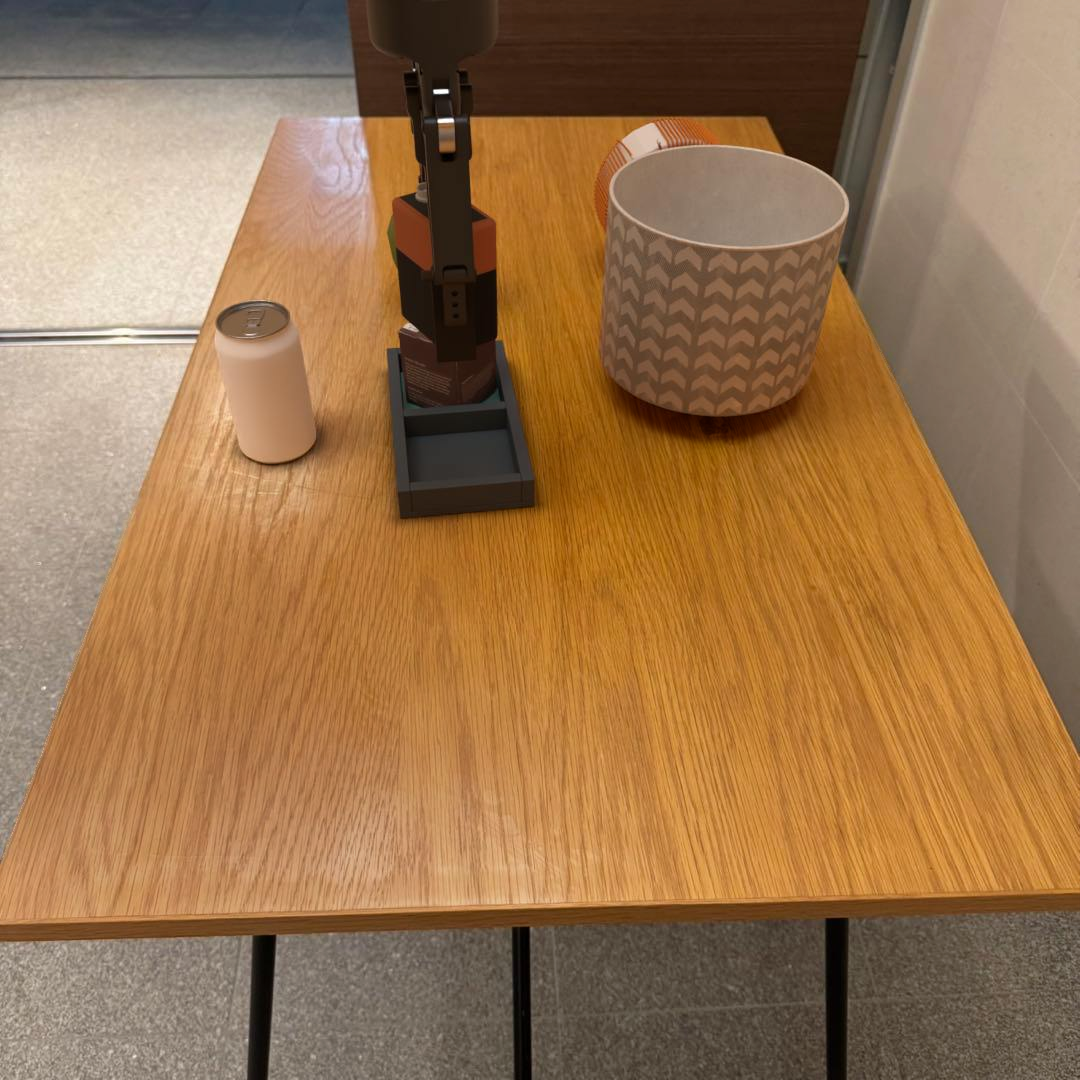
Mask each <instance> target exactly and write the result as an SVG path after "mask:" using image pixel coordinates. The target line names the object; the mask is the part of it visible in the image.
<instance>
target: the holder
mask: <svg viewBox="0 0 1080 1080" xmlns="http://www.w3.org/2000/svg"><path fill="white" fill-rule="evenodd" d="M386 360H387V361H386V363H387V374H388V389H389V400H390V414H391V429H392V440H393V441H392V442H393V455H394V468H395V469H394V470H395V481H396V494H397V503H398V511H399V518H400V519H410V518H421V517H433V516H443V515H453V514H454V515H455V514H463V513H475V512H477V513H478V512H488V511H497V510H509V509H518V508H530V507H535V491H536V489H535V487H536V486H535V483H536V482H535V481H536V480H535V475H534V471H533V466H532V463H531V458H530V457H531V456H530V453H529V449H528V445H527V441H526V435H525V431H524V427H523V424H522V419H521V415H520V410H519V406H518V401H517V397H516V393H515V389H514V385H513V384H514V383H513V381H512V376H511V371H510V368H509V362H508V359H507V354H506V350H505V346H504V340H503V339H497V340H496V370H497V389H496V390H495V391H494V392H493V393H491V395H489V396H488V397H487V398H486V399H484V400H483V401H482V402H481V403H479V404H466V405H453V406H441V407H428V408H425V407H422V406H420V405H417V404H414V403H412V402H409V401H407V400H406V393H405V385H404V377H403V368H402V359H401V351H400V347H387V348H386Z"/></svg>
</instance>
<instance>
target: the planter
mask: <svg viewBox="0 0 1080 1080" xmlns="http://www.w3.org/2000/svg"><path fill="white" fill-rule="evenodd" d="M849 212H850V200H849V197H848V194H847V193H846V191H845V189H844V188H843V187H842V186H841V184H840V183H838V181H836V179H835V178H833V177H832V176H830V175H829V174H828V173H826V172H825V171H824V170H821V169H820V168H818V167H816V166H813V165H812V164H811V163H810V164H809V163H807V162H805V161H804V160H803V161H802V160H800V159H798V158H794V157H792V156H788V155H786V154H783V153H782V154H781V153H778V152H774V151H770V150H765V149H760V148H754V147H748V146H747V147H746V146H739V145H729V144H728V145H727V144H722V145H691V146H681V147H673V148H668V149H663V150H658V151H655V152H651V153H648V154H645V155H642V156H640V157H637V158H635V159H633V160H631V161H630V162H628V163H626V164H625V165H623V166H622V167H621V168H620V169H619V170H618V171H617V172H616V173H615V174H614V175H613V177H612V179H611V182H610V185H609V197H608V213H607V229H606V233H605V247H604V260H603V261H604V263H603V277H602V278H603V279H602V295H601V310H600V311H601V313H600V327H599V342H598V352H599V358H600V361H601V365H602V366H603V368H604V370H605V371H606V373H607V374H608V376H609V377H610V378H611V379H612V380H613V381H614V382H615V383H616V385H618V386H619V387H621V388H622V389H623V390H625V391H626V392H628V393H629V394H631V395H632V396H634V397H636V398H638V399H640V400H642V401H645V402H646V403H649V404H651V405H654V406H656V407H659V408H661V409H666V410H669V411H673V412H677V413H682V414H688V415H692V416H693V415H695V416H702V417H703V416H704V417H735V416H736V417H737V416H745V415H751V414H755V413H760V412H764V411H767V410H770V409H773V408H775V407H778V406H780V405H783V404H784V403H786V402H787V401H789V400H791V399H792V398H793V397H795V396H797V394H798V393H800V392H801V391H802V389H803V388H804V387H805V386H806V384H807V382H808V380H809V379H810V376H811V373H812V369H813V365H814V360H815V356H816V351H817V349H818V345H819V344H818V343H819V340H820V334H821V331H822V327H823V322H824V318H825V313H826V310H827V306H828V302H829V297H830V293H831V289H832V284H833V280H834V276H835V272H836V268H837V263H838V259H839V255H840V251H841V248H842V242H843V239H844V234H845V230H846V225H847V222H848V217H849Z"/></svg>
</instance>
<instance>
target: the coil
mask: <svg viewBox="0 0 1080 1080" xmlns="http://www.w3.org/2000/svg"><path fill="white" fill-rule="evenodd" d="M691 145H723V143H721V141H720V140H719V139H718V138H717V136H716V135H715V134H714V133H713V132H712V131H711V130H710V129H708V128H707V127H706V126H704V125H703V124H701V123H699V122H697V121H693V120H692V119H689V118H685V117H682V118H681V117H680V116H679V117H676V116H674V117H672V116H670V117H668V116H666V117H665V118H664V117H661V118H659V117H658V118H657V119H656V118H653V120H652V122H650V123H647V124H645V125H642V126H641V127H638V128H636V129H634V130H633V131H632V132H630V133H629V134H628V135H626V136H625V137H623V138H622V139H620V138H617V139H616V142H615V143H614V146H613V145H612V146H611V149H609V150H608V153H606V156H605V157H603V160H602V161H601V164H600V166H599V169H598V172H597V174H596V175H597V176H596V178H595V182H594V184H595V185H594V189H593V192H594V193H593V196H594V198H593V200H594V205H595V206H594V207H595V212H596V216H597V218H598V220H599V223H600V225H601V227H602V229H603V231H604V233H605V234H606V229H607V213H608V197H609V185H610V182H611V179H612V177H613V175H614V174H615V173H616V172H617V171H618V170H619V169H620V168H621V167H622V166H623V165H625V164H626V163H628V162H630V161H631V160H633V159H635V158H637V157H640V156H642V155H645V154H648V153H651V152H655V151H658V150H663V149H668V148H673V147H681V146H691Z"/></svg>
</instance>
